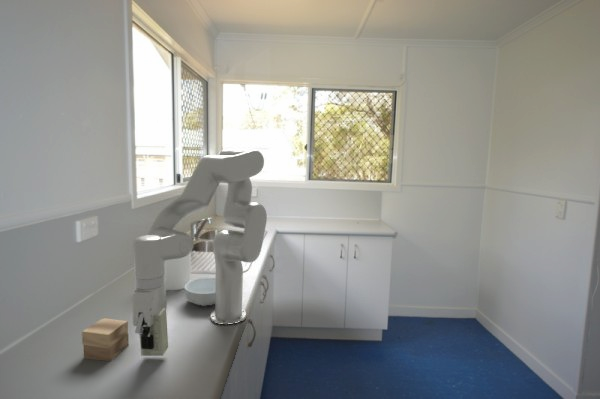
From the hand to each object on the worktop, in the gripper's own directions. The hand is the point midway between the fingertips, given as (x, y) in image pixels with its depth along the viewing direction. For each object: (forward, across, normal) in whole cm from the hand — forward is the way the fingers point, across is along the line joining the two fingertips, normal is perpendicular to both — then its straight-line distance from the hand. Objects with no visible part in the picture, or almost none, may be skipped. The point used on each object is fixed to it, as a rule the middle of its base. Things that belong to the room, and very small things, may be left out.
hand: (152, 342), depth 94 cm
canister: (+6, -53, -18) cm, 57 cm away
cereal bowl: (+6, -38, +2) cm, 39 cm away
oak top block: (+1, -1, -15) cm, 15 cm away
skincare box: (+3, 0, 0) cm, 3 cm away
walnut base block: (+5, -1, -14) cm, 15 cm away
